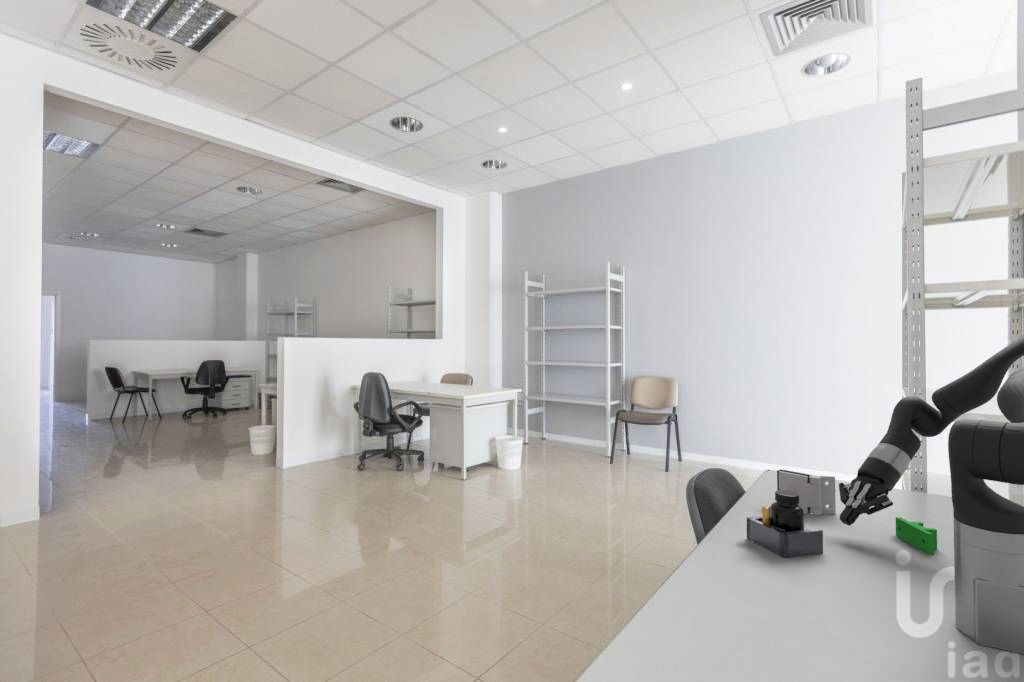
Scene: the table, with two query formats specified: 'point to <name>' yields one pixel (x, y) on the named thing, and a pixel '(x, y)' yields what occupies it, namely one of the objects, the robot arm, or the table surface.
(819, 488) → the hinge
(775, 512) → the supplement bottle
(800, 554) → the keeper cradle
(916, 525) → the pipe clamp
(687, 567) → the table surface
